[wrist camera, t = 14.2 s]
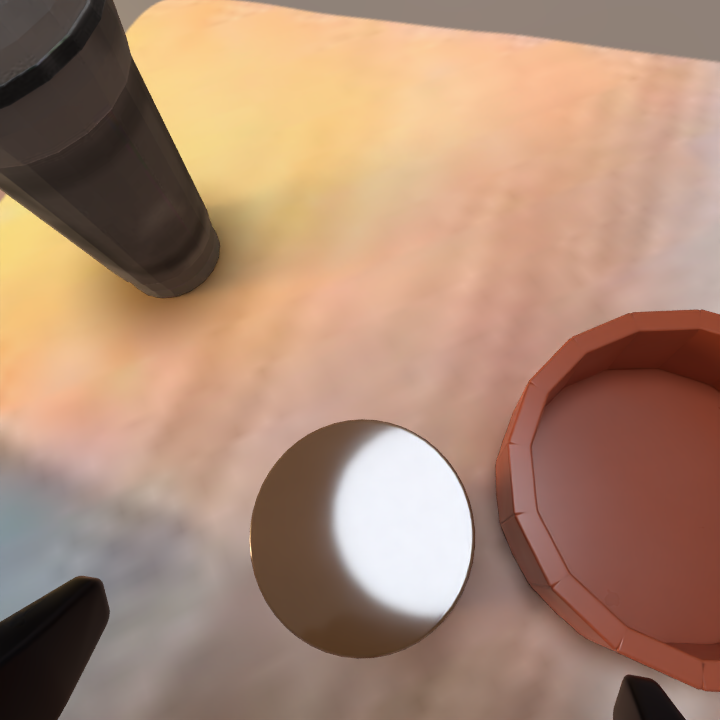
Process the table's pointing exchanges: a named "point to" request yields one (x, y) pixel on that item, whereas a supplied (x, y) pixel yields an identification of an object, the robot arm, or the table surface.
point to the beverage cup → (96, 146)
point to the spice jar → (362, 538)
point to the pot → (624, 489)
